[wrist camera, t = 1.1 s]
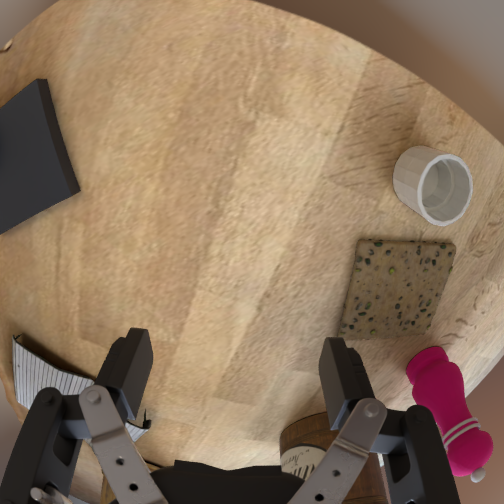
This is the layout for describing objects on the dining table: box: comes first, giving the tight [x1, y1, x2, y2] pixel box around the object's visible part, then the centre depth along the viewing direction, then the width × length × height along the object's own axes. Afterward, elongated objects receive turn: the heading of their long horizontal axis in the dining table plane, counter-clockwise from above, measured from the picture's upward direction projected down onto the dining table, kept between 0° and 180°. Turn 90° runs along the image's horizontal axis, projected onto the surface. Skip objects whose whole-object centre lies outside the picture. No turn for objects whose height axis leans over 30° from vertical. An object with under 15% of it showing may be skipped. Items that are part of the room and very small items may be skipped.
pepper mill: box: [406, 347, 493, 482], centre depth 25 cm, size 7×7×20 cm
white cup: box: [393, 145, 473, 226], centre depth 21 cm, size 6×6×5 cm
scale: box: [0, 79, 81, 235], centre depth 21 cm, size 12×14×4 cm
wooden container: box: [280, 413, 388, 504], centre depth 31 cm, size 15×15×22 cm
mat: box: [12, 334, 151, 457], centre depth 37 cm, size 23×24×5 cm
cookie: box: [337, 239, 456, 340], centre depth 28 cm, size 12×12×1 cm
